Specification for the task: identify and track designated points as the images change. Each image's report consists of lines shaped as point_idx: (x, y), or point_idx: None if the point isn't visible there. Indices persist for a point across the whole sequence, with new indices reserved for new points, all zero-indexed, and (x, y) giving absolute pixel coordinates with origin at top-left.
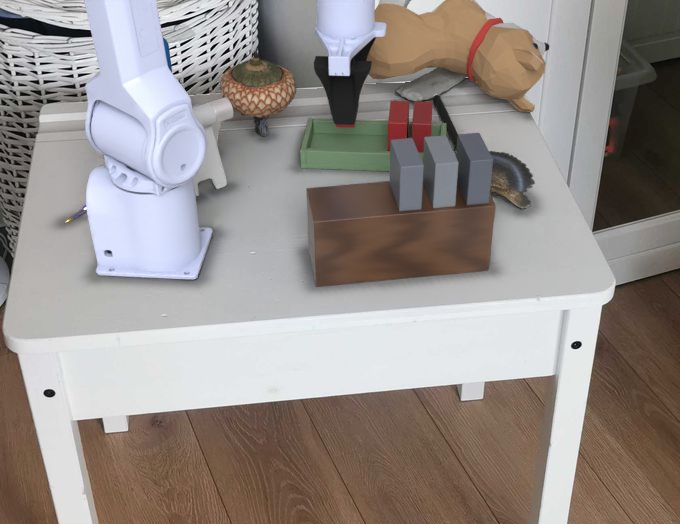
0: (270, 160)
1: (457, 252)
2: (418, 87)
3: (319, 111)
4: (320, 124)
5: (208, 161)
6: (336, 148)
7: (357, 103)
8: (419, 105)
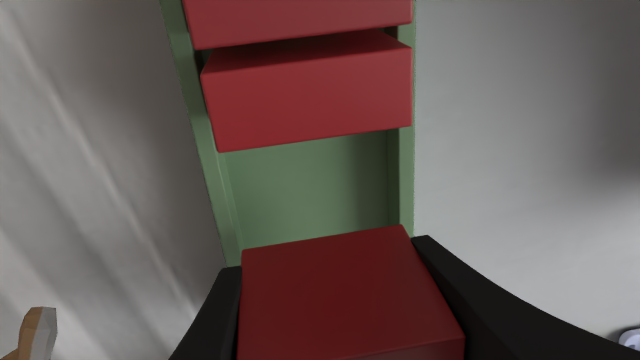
0: None
1: None
2: None
3: (110, 307)
4: None
5: None
6: (321, 226)
7: (484, 278)
8: (231, 17)
